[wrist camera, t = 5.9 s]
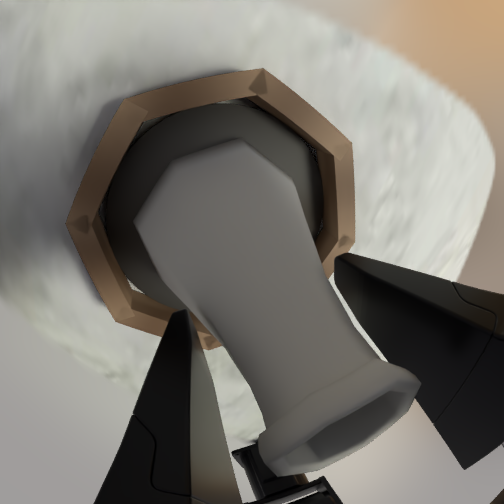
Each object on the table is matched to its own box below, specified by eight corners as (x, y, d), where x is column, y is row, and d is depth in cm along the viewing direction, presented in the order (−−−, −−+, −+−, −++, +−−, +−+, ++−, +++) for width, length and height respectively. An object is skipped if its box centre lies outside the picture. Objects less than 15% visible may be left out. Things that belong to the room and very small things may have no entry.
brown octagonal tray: (339, 281, 17) (352, 295, 16) (144, 348, 15) (146, 368, 13) (324, 66, 11) (343, 64, 9) (49, 133, 8) (35, 137, 7)
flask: (207, 317, 15) (275, 505, 6) (104, 217, 11) (43, 469, 2) (320, 232, 14) (472, 372, 6) (245, 106, 10) (505, 142, 2)
